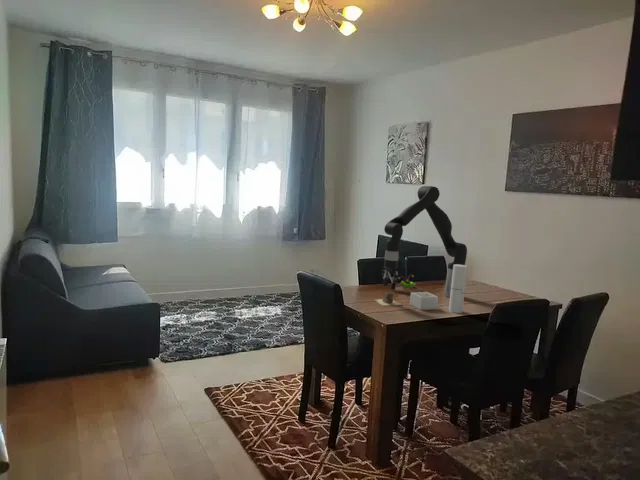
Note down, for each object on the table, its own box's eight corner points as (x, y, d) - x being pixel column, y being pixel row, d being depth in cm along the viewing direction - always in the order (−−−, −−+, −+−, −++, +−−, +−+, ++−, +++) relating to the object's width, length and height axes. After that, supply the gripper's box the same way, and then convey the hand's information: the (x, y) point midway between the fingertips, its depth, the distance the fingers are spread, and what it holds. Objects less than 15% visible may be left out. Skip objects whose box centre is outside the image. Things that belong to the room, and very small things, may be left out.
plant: (425, 296, 281) (427, 278, 279) (393, 294, 282) (394, 276, 280) (420, 289, 300) (422, 272, 299) (390, 287, 302) (391, 270, 300)
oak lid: (391, 300, 267) (392, 290, 266) (402, 306, 256) (403, 295, 255) (372, 301, 262) (373, 290, 262) (383, 307, 251) (384, 296, 251)
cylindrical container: (446, 309, 254) (451, 264, 251) (459, 309, 254) (464, 264, 251) (451, 312, 247) (456, 266, 244) (464, 313, 247) (469, 267, 244)
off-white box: (425, 304, 262) (426, 292, 261) (436, 309, 252) (438, 296, 251) (409, 304, 258) (410, 292, 257) (420, 310, 248) (421, 297, 247)
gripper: (404, 261, 251) (401, 290, 253) (390, 256, 264) (388, 284, 266) (391, 261, 248) (389, 291, 250) (379, 256, 261) (377, 284, 263)
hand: (389, 287), depth 258 cm, fingers open, 8 cm apart
